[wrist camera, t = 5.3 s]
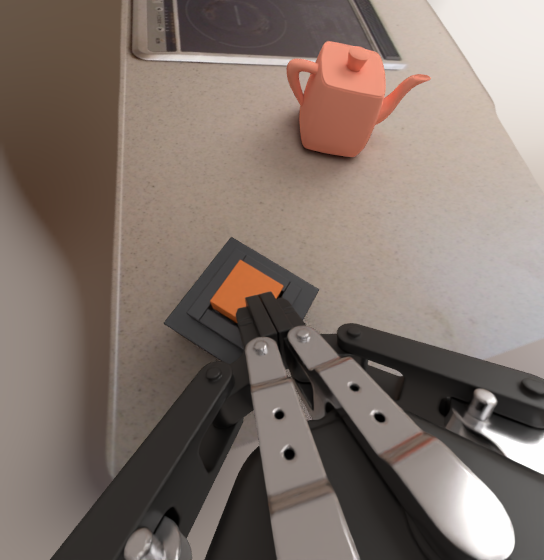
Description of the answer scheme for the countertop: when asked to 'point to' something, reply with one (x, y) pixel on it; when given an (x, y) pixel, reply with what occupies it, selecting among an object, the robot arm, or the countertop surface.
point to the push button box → (215, 326)
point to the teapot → (344, 98)
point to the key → (242, 289)
